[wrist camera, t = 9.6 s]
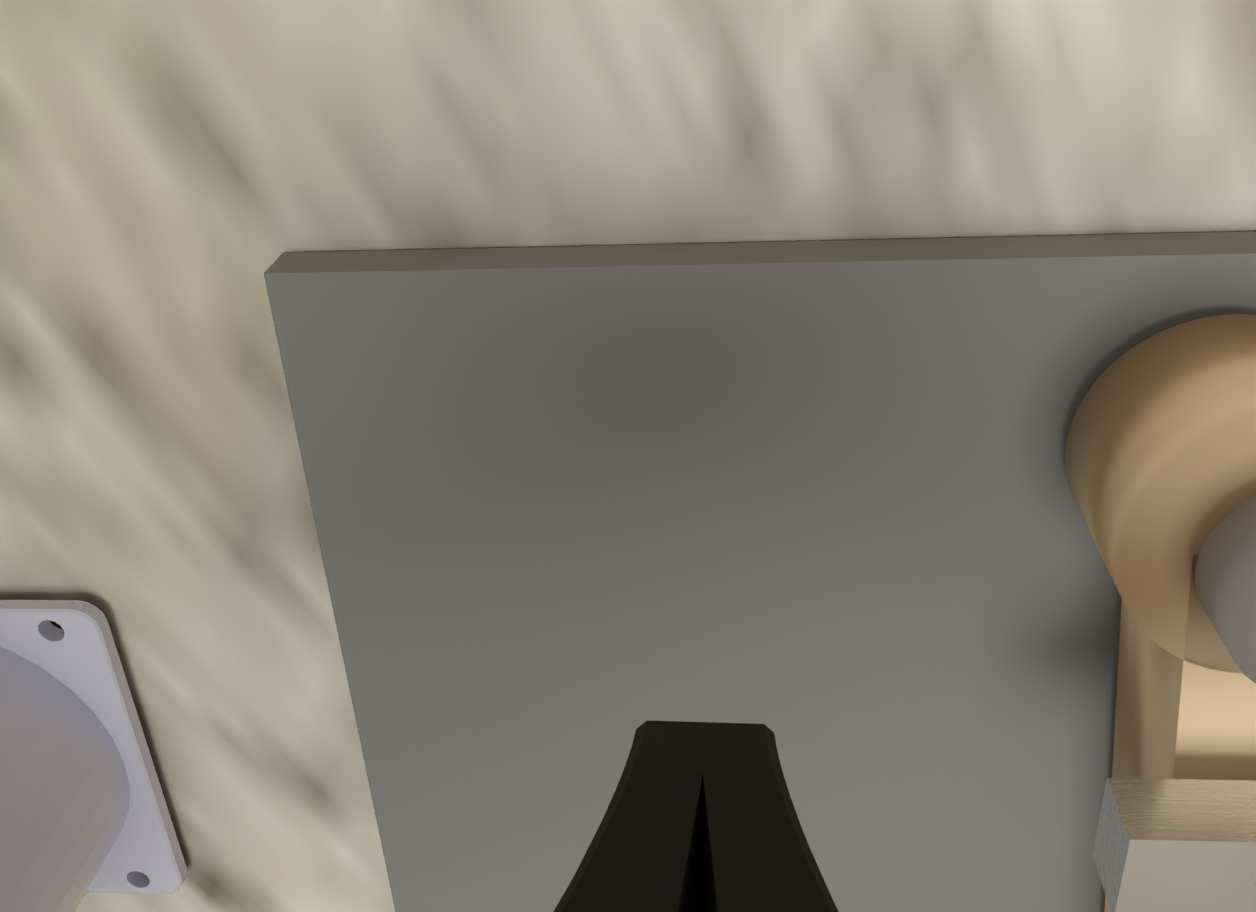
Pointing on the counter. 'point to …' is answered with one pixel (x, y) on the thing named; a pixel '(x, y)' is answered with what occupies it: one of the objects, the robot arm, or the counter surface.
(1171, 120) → the counter surface
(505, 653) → the base plate
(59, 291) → the counter surface
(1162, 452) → the link
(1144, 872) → the keeper
